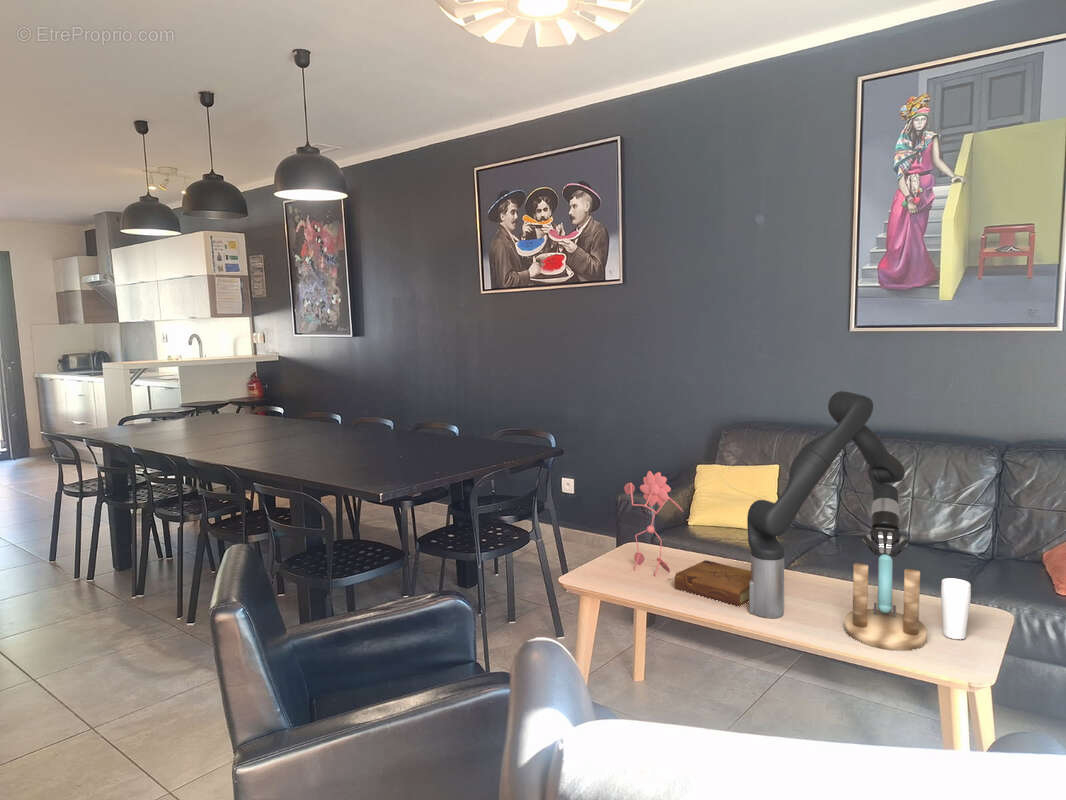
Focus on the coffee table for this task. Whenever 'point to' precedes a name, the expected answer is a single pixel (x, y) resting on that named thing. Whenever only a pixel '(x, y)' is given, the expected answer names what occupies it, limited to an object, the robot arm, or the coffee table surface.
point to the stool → (886, 615)
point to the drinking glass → (955, 607)
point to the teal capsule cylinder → (885, 583)
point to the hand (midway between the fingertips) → (884, 567)
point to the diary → (716, 582)
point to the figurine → (653, 493)
